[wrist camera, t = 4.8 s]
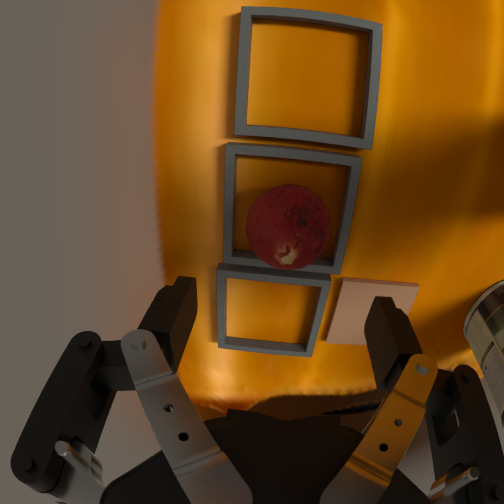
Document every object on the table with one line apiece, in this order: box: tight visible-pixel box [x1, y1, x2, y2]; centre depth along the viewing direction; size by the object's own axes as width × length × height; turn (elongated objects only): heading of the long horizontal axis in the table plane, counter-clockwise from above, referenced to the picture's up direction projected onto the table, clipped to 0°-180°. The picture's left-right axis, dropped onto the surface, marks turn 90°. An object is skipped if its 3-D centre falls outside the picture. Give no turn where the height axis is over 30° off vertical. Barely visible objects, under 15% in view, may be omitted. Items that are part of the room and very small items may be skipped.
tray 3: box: [216, 263, 331, 357], centre depth 29 cm, size 10×10×1 cm
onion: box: [245, 184, 330, 270], centre depth 20 cm, size 6×6×8 cm
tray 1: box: [234, 6, 382, 150], centre depth 18 cm, size 10×10×1 cm
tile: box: [325, 277, 420, 345], centre depth 28 cm, size 8×8×1 cm
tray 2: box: [223, 142, 362, 274], centre depth 23 cm, size 10×10×1 cm
